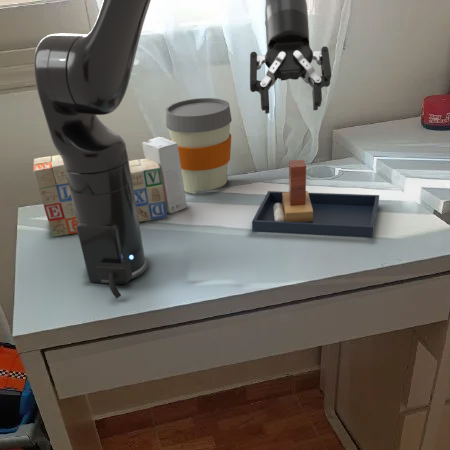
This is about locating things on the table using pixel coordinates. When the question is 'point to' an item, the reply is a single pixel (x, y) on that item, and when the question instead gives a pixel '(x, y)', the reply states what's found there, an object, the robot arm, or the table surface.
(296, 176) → the wooden block on base
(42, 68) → the robot arm
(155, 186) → the stack of blocks
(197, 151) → the reusable coffee cup
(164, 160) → the cosmetic box
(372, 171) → the table surface
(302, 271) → the table surface
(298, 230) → the tray
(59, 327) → the table surface
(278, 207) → the chalk
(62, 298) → the table surface
